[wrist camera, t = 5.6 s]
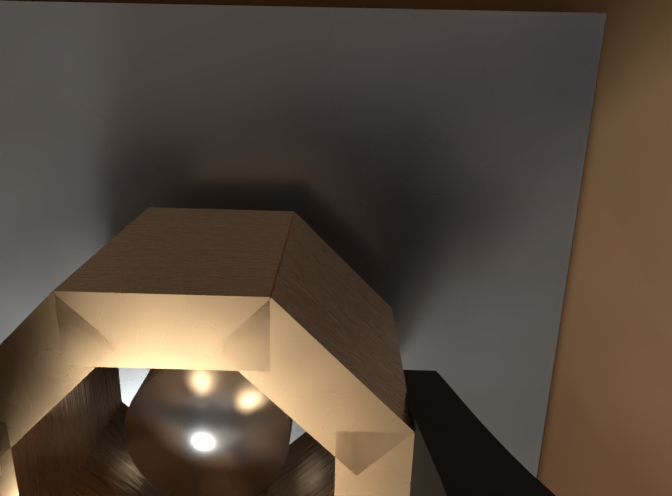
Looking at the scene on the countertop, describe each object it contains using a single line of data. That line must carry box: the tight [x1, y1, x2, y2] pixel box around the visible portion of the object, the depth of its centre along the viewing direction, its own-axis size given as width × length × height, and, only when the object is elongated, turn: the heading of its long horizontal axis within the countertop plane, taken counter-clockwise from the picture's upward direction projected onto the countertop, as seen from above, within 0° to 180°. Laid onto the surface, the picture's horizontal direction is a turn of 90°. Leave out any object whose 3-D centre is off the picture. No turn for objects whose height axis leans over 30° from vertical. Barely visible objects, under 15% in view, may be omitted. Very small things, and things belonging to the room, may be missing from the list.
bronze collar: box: [0, 207, 415, 496], centre depth 9 cm, size 6×6×3 cm
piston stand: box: [0, 1, 607, 496], centre depth 11 cm, size 12×12×4 cm
